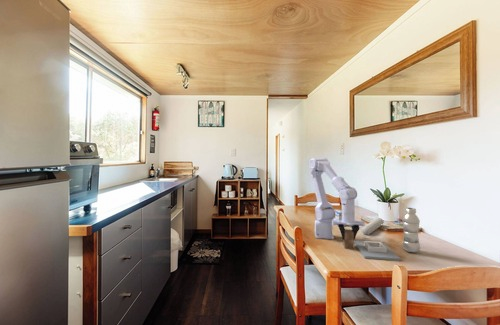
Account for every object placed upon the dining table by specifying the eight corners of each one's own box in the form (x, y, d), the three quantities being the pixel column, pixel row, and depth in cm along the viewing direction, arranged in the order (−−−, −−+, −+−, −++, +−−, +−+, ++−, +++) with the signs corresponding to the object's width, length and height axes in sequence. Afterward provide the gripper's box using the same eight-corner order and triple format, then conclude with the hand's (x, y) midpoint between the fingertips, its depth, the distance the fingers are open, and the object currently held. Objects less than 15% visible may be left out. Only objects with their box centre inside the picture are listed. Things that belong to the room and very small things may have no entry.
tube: (371, 229, 121) (385, 220, 138) (361, 224, 125) (376, 216, 142) (368, 238, 122) (382, 227, 139) (358, 233, 126) (373, 223, 143)
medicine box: (333, 222, 148) (333, 209, 148) (339, 222, 149) (339, 209, 149) (338, 226, 140) (338, 212, 140) (345, 225, 141) (345, 212, 141)
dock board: (364, 258, 95) (364, 251, 95) (353, 242, 113) (353, 236, 113) (400, 260, 93) (400, 253, 93) (383, 244, 110) (383, 238, 110)
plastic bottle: (421, 255, 97) (421, 210, 97) (402, 252, 101) (402, 209, 100) (419, 250, 103) (419, 207, 102) (401, 247, 106) (401, 206, 106)
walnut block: (344, 248, 106) (344, 231, 106) (343, 244, 110) (343, 229, 110) (353, 248, 106) (353, 232, 105) (351, 245, 109) (351, 229, 109)
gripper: (334, 214, 105) (334, 242, 105) (366, 215, 102) (366, 243, 102) (331, 210, 112) (331, 236, 112) (362, 211, 109) (362, 238, 109)
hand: (348, 239), depth 108 cm, fingers closed on walnut block, 4 cm apart
